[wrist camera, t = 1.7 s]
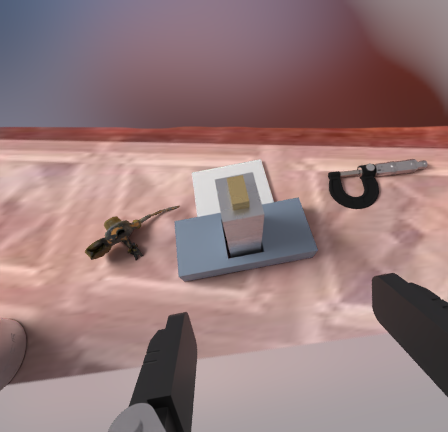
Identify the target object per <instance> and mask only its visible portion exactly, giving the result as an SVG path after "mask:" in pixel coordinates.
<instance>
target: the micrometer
mask: <svg viewBox="0 0 448 432" xmlns="http://www.w3.org/2000/svg"><path fill="white" fill-rule="evenodd" d="M426 167H427V162H426V161H425V160H424V161H419V162H417V161H416V160H415V159H410V160H404V161H395V162H394V161H393V162H387V163H378V164H375V165H374V164H367V165H361V166H359V167H358V168H357V170H352V171H344V172H339V171H338V172H330V173H329V174H328V177H329V179H330V181H329V191H330V194H331V196H332V197H333V199H334V200H335V201H337V202H338V203H339V204H341V205H343V206H345V207H348V208H352V209H362V208H366V207H369V206H370V205H372V204H373V203H374V202H375V201H376V199H377V197H378V194H379V186H378V183H377V181H376V179H375V178H374V177H375V176H377V177H379V176H387V175H388V176H390V175H396V174H405V173H407V174H408V173H414V172H416V170H417V169H425V168H426ZM354 175H359V177H360V179H362V182H363V186H364V193H363V195H362V196H359V197H352V196H349V195H347V194H346V193H345V192H344V190H343V187H342V183H341V180H340V177H345V176H354Z"/></svg>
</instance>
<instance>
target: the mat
mask: <svg viewBox="0 0 448 432" xmlns="http://www.w3.org/2000/svg"><path fill="white" fill-rule="evenodd" d="M250 172H253V174H254V178H255V182H256V185H257V189H258V193H259V196H260V200H261V203H262V204H267V203H273V202H274V201H273V197H272V194H271V191H270V188H269V184H268V181H267V178H266V175H265V171H264V168H263V165H262V162H261V159H260V160H254V161H249V162H244V163H239V164H234V165H229V166H224V167H219V168H214V169H209V170H204V171H198V172H193V173H192V178H193V186H194V194H195V202H196V210H197V217H200V216H205V215H211V214H216V213H221V212H220V206H219V201H218V195H217V190H216V184H215V179H220V178H225V177H230V176H235V175H240V174H245V173H250Z"/></svg>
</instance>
